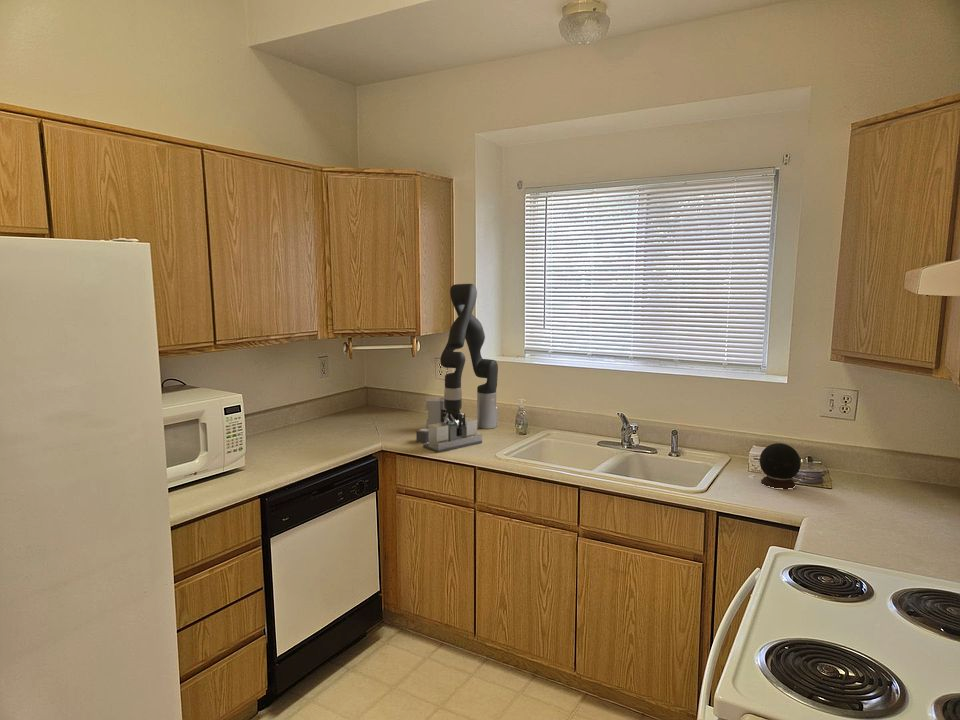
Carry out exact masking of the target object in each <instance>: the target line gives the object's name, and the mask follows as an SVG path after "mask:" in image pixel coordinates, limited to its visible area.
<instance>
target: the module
mask: <svg viewBox="0 0 960 720" xmlns="http://www.w3.org/2000/svg"><path fill="white" fill-rule="evenodd" d="M445 425H448V441H452V440H457V439H461V438H462V435H461V436H460V437H457V427H456V424H454V423H448V424H445ZM458 425H459V423H458Z"/></svg>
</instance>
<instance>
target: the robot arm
mask: <svg viewBox="0 0 960 720" xmlns="http://www.w3.org/2000/svg"><path fill="white" fill-rule="evenodd" d="M449 295H450V300H451V303H452V305H453V308H454V309H455V312H456V315H457V317H456V319H455V320H454V321H453V323H452V324H451V326H450V329H449V334H448V340H447V342H446V345H445V347H444V349H443V351H442V352H441V355H440V359H439V360H440V361H439V362H440V365H441V366H442V368H447V369H455V370H454V372H449V373H446V374H445V375H444V391H443V392H444V393H443V395H444V396H443V398H444V409H441V422H443V423H444V424H448V423H450V421H453V422H454V424H456V427H457V437H460V436H461V435H462V427H465V418H466V413H464V412H463V413H462V412H461V409H462V405H463V404H462V403H463V401H462V399H463V398H462V394H463V393H462V376H463V372H464V371H463V370H464V367H465V364H466V355H465V354H464V353H463V352H462V351H455V350H459V349H463V347H464V345H465V341H466V345H467V347H468V351H469V356H470V359H471V364H472V369H473V373H474V374H475V376H476V377H478V378H480V379H486V382H485V383H482V384H480V385H478V386H476V387H477V388H476V391H477V392H476V409H477V410H476V420H477V429H478V428H479V429H486V430H488V429H495V428H496V427H498V420H499V419H498V416H499V414H498V413H499V411H498V410H499V408H498V406H497V387H498V376H499V375H498V374H499V364H498V362H497V360H496V359H490V358H483V357H482V354H481V350H482V347H483V345H484V343H485V339H486V335H485V331H484V327H483V325H482V323H481V322H480V320H479V319H478V318H477V317H476V316H475V315H474V314H473V310H474V308H475V305H476V302H477V297H478V291H477V287H476V285H475V284H473V283H459V284H458V283H456V284H452V285H451V286H450V289H449ZM443 417H445V418H444V419H443ZM458 420H459V421H458ZM462 422H463V424H462ZM458 423H459V425H458Z"/></svg>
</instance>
